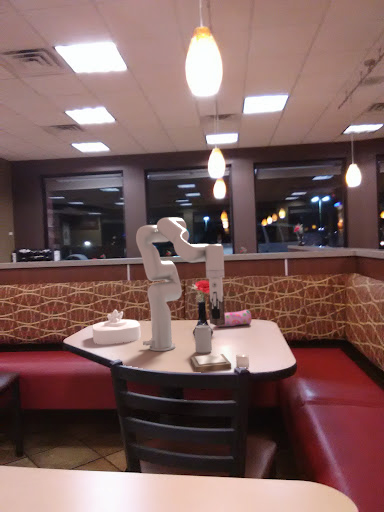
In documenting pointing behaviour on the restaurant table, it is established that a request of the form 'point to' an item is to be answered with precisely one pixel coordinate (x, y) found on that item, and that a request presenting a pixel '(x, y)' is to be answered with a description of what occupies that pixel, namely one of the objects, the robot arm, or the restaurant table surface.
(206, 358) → the stand
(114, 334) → the tissue box
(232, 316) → the pencil case
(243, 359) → the white small block
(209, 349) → the can
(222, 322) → the box
